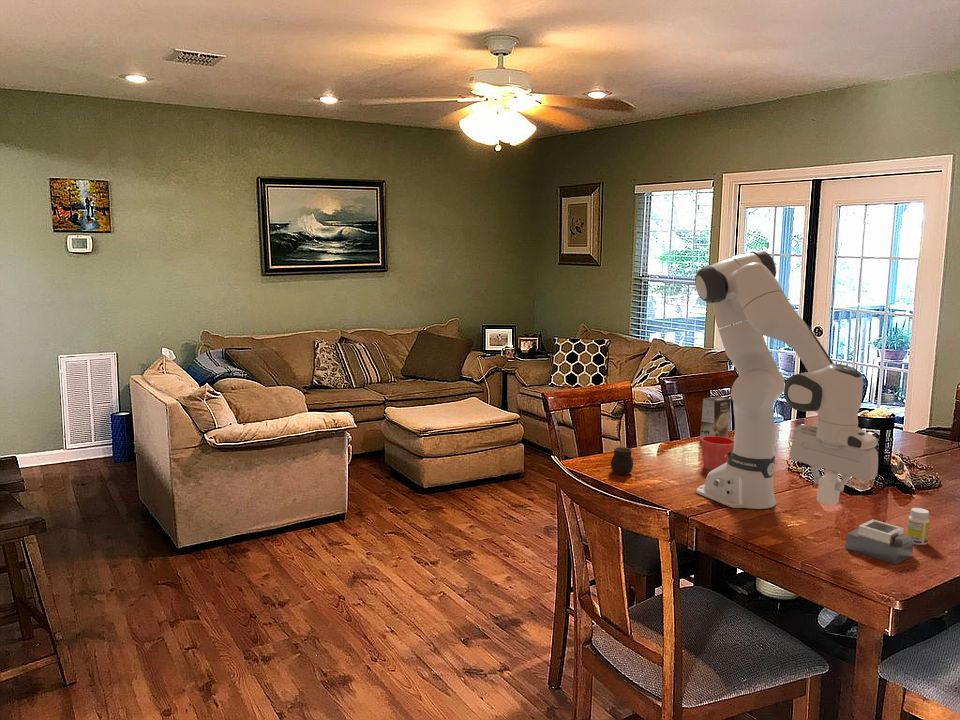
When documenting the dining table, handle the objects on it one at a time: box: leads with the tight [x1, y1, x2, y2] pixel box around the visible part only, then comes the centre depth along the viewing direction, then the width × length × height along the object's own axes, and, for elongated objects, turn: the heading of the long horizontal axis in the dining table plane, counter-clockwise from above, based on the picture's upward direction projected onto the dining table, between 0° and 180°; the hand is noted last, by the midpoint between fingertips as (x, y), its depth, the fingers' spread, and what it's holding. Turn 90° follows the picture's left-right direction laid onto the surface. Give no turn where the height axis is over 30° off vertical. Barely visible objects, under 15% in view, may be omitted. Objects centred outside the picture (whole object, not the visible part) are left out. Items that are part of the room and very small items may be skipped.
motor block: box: [845, 519, 914, 566], centre depth 192 cm, size 12×9×6 cm
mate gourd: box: [610, 445, 635, 476], centre depth 251 cm, size 7×8×10 cm
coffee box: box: [699, 396, 732, 441], centre depth 295 cm, size 9×6×16 cm
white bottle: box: [816, 469, 842, 506], centre depth 191 cm, size 4×4×10 cm
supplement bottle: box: [906, 507, 931, 546], centre depth 199 cm, size 5×5×8 cm
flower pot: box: [700, 436, 734, 471], centre depth 259 cm, size 11×11×10 cm
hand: (828, 487), depth 191 cm, fingers closed on white bottle, 4 cm apart
